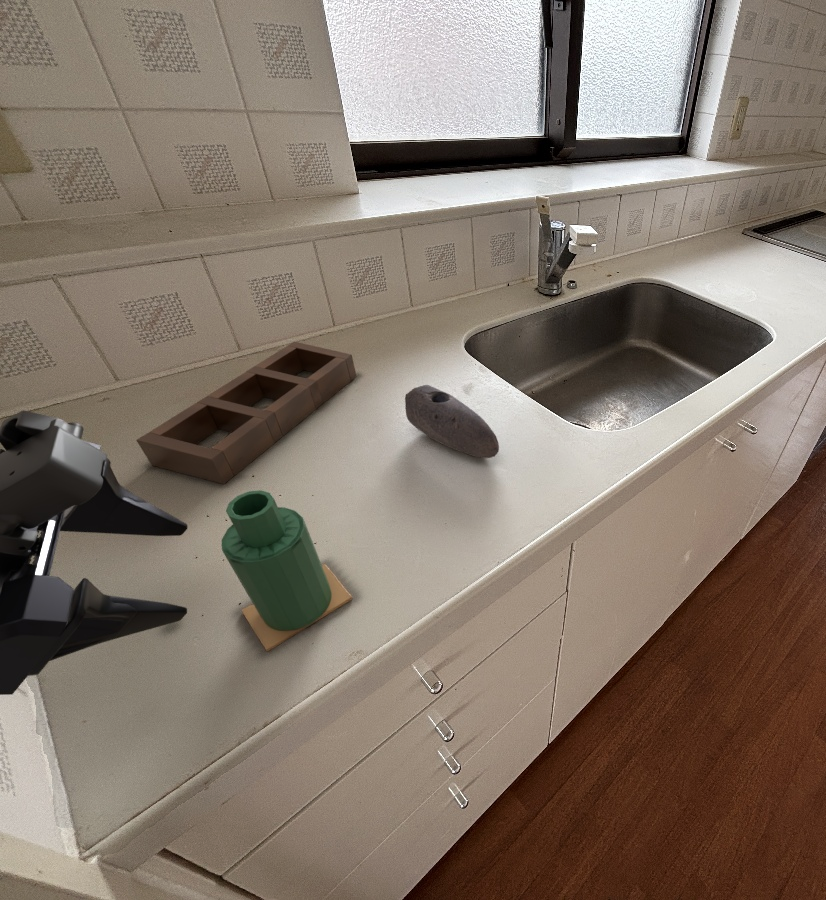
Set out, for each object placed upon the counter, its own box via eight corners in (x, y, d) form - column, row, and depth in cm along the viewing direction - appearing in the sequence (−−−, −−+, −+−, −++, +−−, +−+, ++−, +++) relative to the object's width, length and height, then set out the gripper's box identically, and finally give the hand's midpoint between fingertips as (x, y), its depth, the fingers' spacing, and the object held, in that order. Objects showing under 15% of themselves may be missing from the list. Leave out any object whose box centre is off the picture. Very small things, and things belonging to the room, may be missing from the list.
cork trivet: (267, 651, 45) (266, 649, 45) (242, 612, 48) (240, 610, 47) (352, 599, 50) (351, 596, 50) (325, 565, 53) (325, 563, 52)
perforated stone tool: (509, 456, 69) (509, 416, 65) (484, 476, 66) (482, 435, 61) (432, 415, 75) (427, 375, 70) (404, 431, 71) (397, 390, 67)
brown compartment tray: (224, 484, 60) (211, 459, 57) (151, 465, 61) (135, 440, 58) (356, 376, 80) (351, 354, 78) (300, 363, 81) (294, 341, 79)
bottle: (246, 620, 47) (185, 520, 38) (292, 571, 51) (247, 471, 42) (303, 639, 46) (253, 541, 37) (344, 586, 51) (309, 489, 42)
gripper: (-129, 536, 21) (253, 589, 33) (-17, 340, 33) (237, 432, 45) (-253, 705, 23) (158, 697, 35) (-103, 460, 34) (166, 518, 46)
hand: (184, 569), depth 40 cm, fingers open, 9 cm apart
